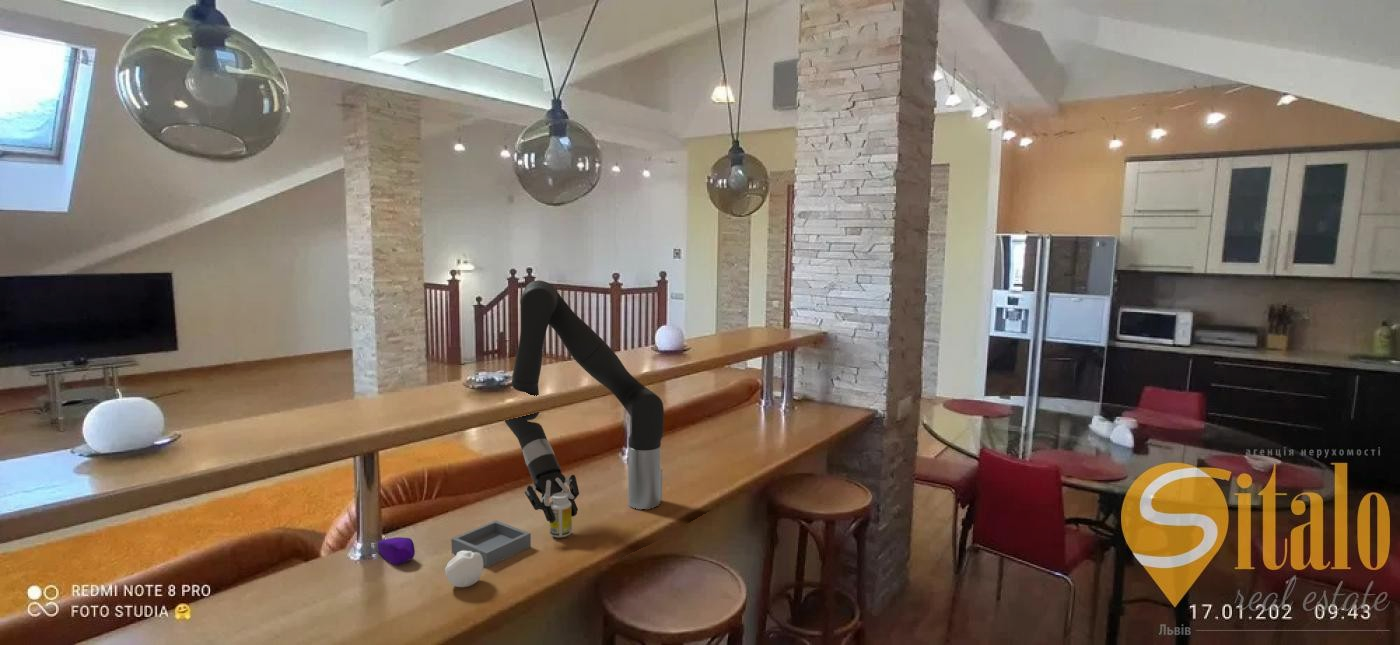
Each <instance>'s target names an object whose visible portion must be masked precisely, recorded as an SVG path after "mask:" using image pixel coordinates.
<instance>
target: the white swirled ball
mask: <svg viewBox="0 0 1400 645" xmlns="http://www.w3.org/2000/svg"><path fill="white" fill-rule="evenodd" d="M483 571H484V566H483V558H482V556H481V555H480V553H478V552H474V553H473V552H472V551H459V552H457V554H455V556H454V557H453V558H451V559H450V560H449V561H448V563H447V565H446V566H445V568H444V574H445V577H446V579H447V580H448V582H449V583H450V584H451V585H452V586H454V587H457V588H467V587H468V588H469V587H470V586H473V585H474V584H476V582H478V581H479V580H480V577H481V576H482V573H483Z"/></svg>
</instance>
